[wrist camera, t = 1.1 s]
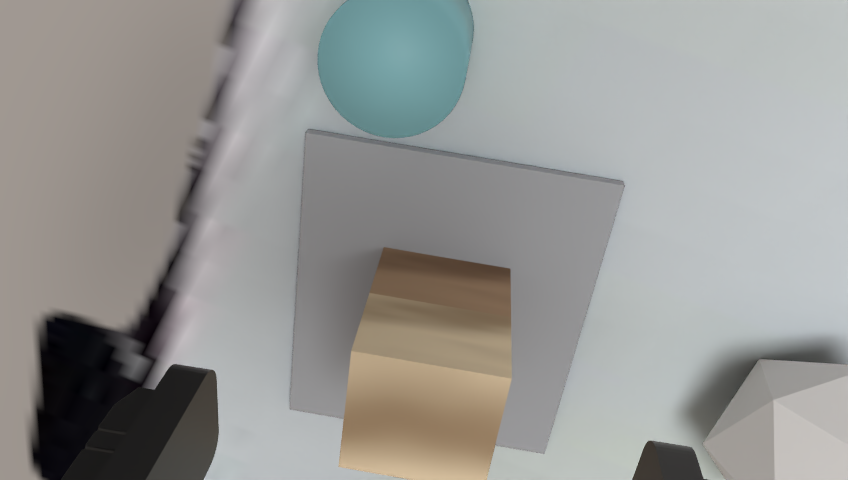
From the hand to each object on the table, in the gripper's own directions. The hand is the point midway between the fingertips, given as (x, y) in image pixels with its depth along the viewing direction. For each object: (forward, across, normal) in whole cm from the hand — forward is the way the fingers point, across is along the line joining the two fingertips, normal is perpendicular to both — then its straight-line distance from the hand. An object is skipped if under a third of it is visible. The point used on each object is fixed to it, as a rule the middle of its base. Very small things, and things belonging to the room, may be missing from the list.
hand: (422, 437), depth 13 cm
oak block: (+15, 0, +10) cm, 18 cm away
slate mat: (+19, 0, +10) cm, 22 cm away
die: (+20, -18, +13) cm, 29 cm away
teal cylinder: (+20, +3, -3) cm, 20 cm away
